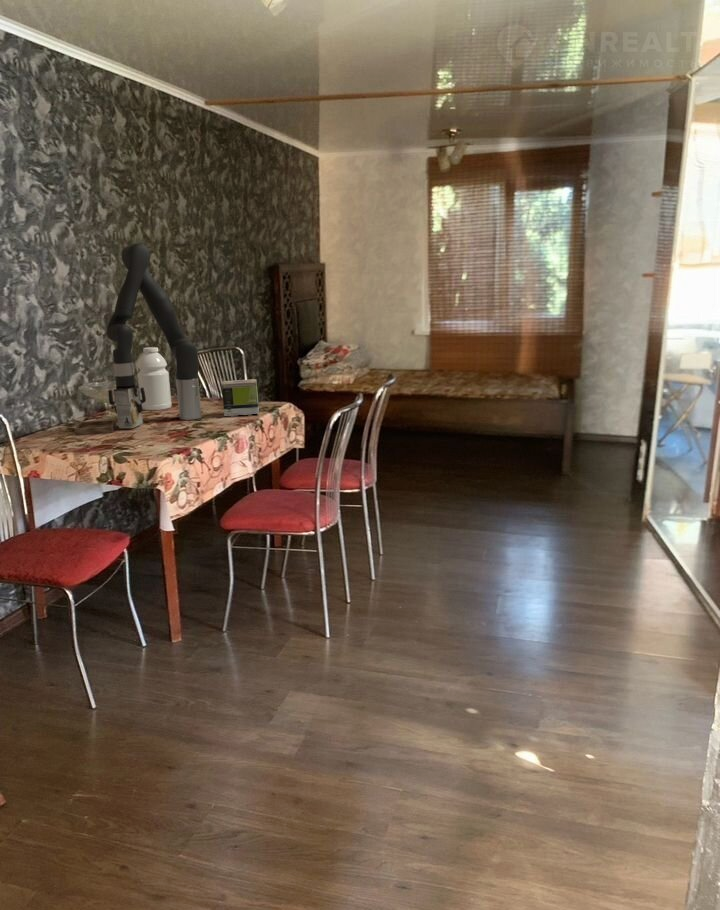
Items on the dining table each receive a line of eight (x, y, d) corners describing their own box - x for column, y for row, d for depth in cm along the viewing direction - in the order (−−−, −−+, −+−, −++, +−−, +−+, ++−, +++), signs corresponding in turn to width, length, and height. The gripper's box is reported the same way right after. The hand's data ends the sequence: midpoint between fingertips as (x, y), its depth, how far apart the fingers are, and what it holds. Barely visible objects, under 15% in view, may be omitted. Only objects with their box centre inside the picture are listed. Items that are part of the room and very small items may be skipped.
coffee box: (129, 423, 289) (124, 385, 284) (143, 423, 288) (138, 385, 283) (118, 428, 280) (113, 389, 276) (133, 428, 279) (128, 389, 275)
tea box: (259, 411, 311) (257, 378, 307) (258, 415, 301) (256, 382, 298) (225, 412, 309) (222, 380, 306) (223, 417, 300) (221, 383, 296)
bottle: (144, 405, 331) (138, 346, 324) (173, 404, 332) (168, 345, 325) (138, 411, 318) (131, 350, 310) (169, 409, 319) (163, 348, 312)
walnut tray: (116, 425, 288) (115, 419, 288) (112, 432, 275) (111, 426, 274) (81, 427, 285) (80, 422, 285) (75, 435, 272) (74, 429, 272)
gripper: (143, 371, 283) (148, 410, 287) (107, 373, 280) (112, 413, 284) (142, 374, 276) (146, 414, 280) (104, 376, 273) (109, 416, 277)
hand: (129, 413), depth 282 cm, fingers closed on coffee box, 8 cm apart
